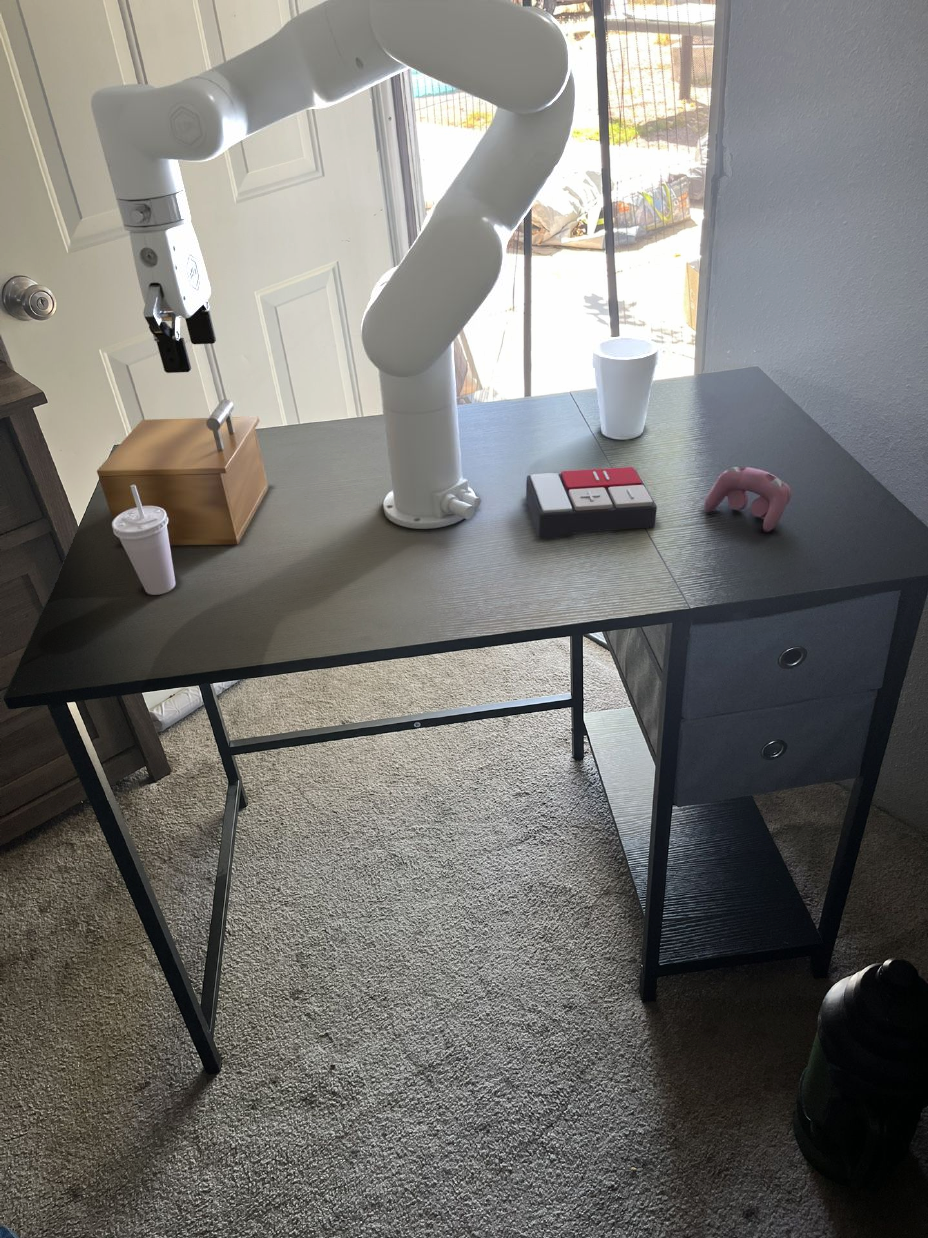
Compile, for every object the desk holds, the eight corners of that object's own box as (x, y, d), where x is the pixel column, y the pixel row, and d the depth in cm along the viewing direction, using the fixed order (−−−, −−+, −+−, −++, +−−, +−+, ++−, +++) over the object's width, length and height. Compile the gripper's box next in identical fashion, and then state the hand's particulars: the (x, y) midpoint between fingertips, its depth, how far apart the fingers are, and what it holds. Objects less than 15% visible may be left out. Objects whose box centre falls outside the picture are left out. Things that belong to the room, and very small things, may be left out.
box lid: (259, 421, 127) (251, 384, 124) (226, 473, 115) (216, 433, 112) (143, 424, 129) (132, 388, 126) (98, 476, 117) (84, 437, 113)
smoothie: (172, 602, 111) (140, 500, 103) (124, 599, 112) (89, 498, 104) (195, 573, 116) (166, 473, 108) (148, 570, 117) (117, 471, 109)
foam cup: (664, 426, 141) (670, 343, 133) (631, 449, 136) (635, 363, 128) (613, 413, 146) (615, 332, 139) (579, 434, 141) (579, 351, 133)
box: (268, 488, 133) (254, 422, 127) (237, 544, 121) (220, 474, 115) (162, 490, 135) (143, 425, 129) (121, 545, 123) (98, 476, 117)
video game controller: (782, 534, 117) (801, 480, 115) (768, 533, 113) (787, 478, 111) (713, 511, 122) (730, 460, 121) (698, 510, 119) (715, 457, 117)
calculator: (658, 501, 115) (540, 509, 114) (655, 531, 118) (539, 539, 116) (636, 463, 124) (526, 469, 123) (633, 491, 126) (525, 498, 125)
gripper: (159, 227, 97) (198, 382, 107) (210, 191, 111) (240, 332, 121) (91, 231, 98) (137, 384, 108) (150, 195, 112) (186, 334, 122)
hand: (191, 356), depth 114 cm, fingers open, 9 cm apart
